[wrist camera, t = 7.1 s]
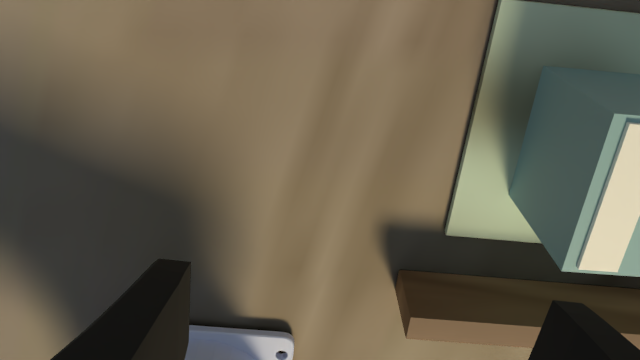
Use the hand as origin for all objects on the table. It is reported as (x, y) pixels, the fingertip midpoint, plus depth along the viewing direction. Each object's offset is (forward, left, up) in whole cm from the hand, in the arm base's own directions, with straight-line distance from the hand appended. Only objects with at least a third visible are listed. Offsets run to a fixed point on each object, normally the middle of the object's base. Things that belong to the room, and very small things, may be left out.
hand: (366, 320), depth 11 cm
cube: (+1, -9, -10) cm, 14 cm away
